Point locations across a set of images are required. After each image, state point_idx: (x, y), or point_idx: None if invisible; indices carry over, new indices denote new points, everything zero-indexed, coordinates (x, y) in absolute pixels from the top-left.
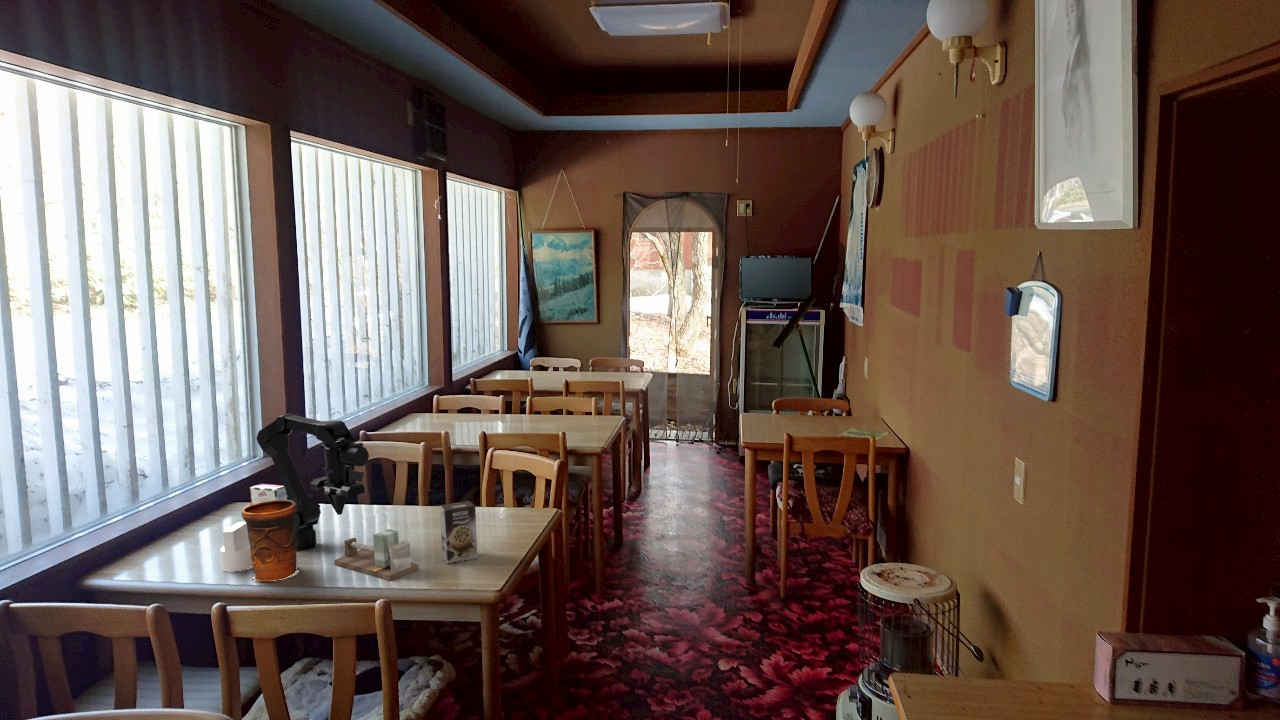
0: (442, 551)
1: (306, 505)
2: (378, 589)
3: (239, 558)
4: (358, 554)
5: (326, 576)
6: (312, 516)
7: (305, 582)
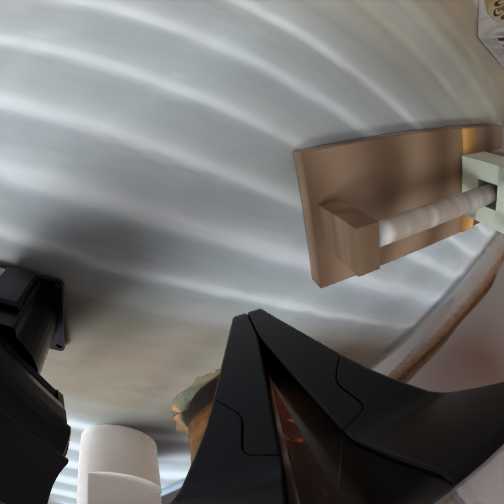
0: (495, 40)
1: (18, 469)
2: (491, 245)
3: (159, 475)
4: (343, 197)
5: (368, 317)
6: (26, 389)
7: (355, 361)
